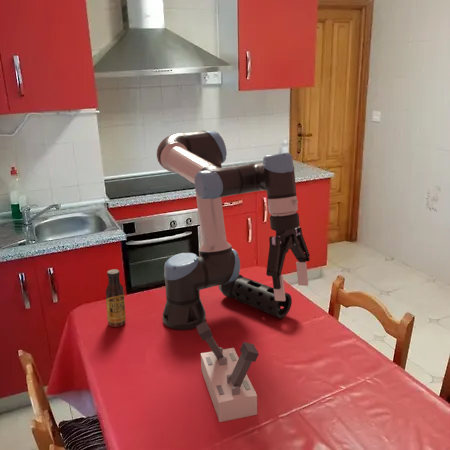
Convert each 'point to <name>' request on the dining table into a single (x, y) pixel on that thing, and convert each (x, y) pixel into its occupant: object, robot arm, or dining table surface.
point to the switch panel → (227, 386)
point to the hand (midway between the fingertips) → (292, 292)
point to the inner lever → (209, 339)
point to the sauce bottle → (115, 300)
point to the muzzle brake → (256, 296)
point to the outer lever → (243, 363)
